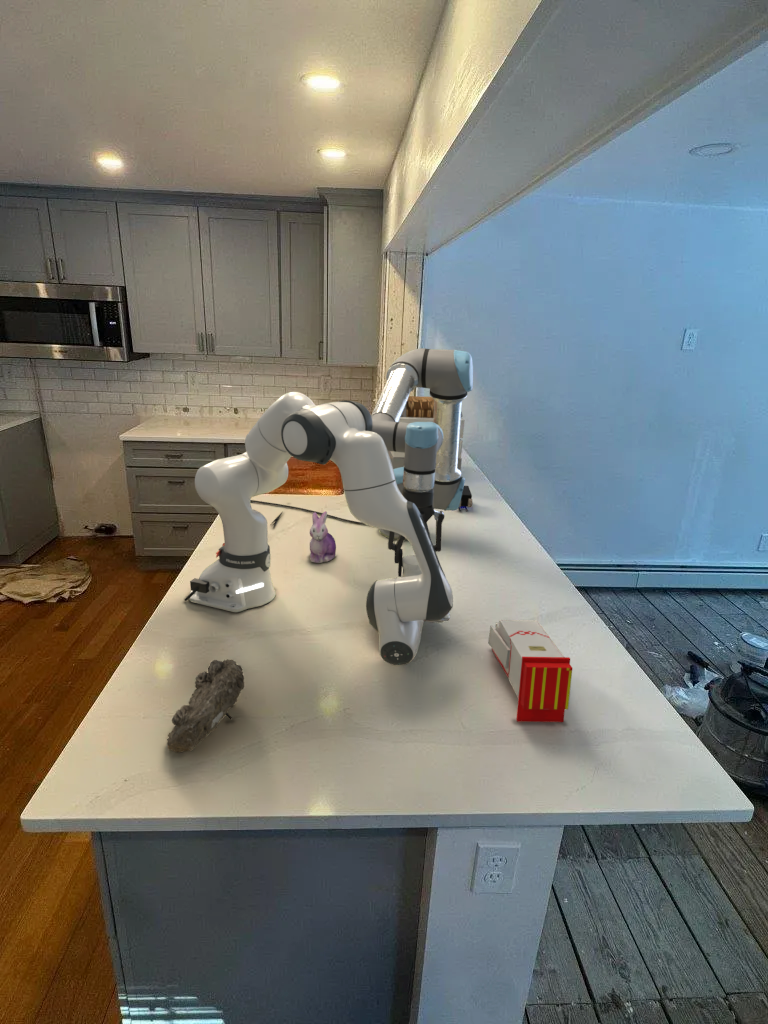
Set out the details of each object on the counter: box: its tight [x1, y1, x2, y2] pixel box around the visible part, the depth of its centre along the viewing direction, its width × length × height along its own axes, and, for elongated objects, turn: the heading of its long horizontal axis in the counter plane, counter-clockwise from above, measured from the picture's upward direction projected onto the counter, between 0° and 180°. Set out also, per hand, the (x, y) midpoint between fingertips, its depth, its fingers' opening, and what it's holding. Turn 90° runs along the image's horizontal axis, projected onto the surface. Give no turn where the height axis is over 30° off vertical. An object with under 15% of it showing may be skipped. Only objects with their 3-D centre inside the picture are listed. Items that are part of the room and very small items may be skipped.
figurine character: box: [457, 485, 473, 512], centre depth 229 cm, size 7×8×15 cm
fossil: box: [166, 658, 245, 754], centre depth 106 cm, size 22×10×15 cm
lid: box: [402, 554, 421, 571], centre depth 143 cm, size 6×6×2 cm
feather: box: [270, 512, 283, 529], centre depth 212 cm, size 2×28×2 cm
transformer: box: [388, 395, 465, 472], centre depth 268 cm, size 34×33×41 cm
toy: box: [488, 619, 573, 723], centre depth 122 cm, size 12×13×30 cm
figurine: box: [309, 510, 337, 564], centre depth 176 cm, size 9×10×15 cm
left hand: (411, 590), depth 146 cm, fingers closed on jar, 5 cm apart
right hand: (412, 574), depth 144 cm, fingers closed on lid, 6 cm apart
